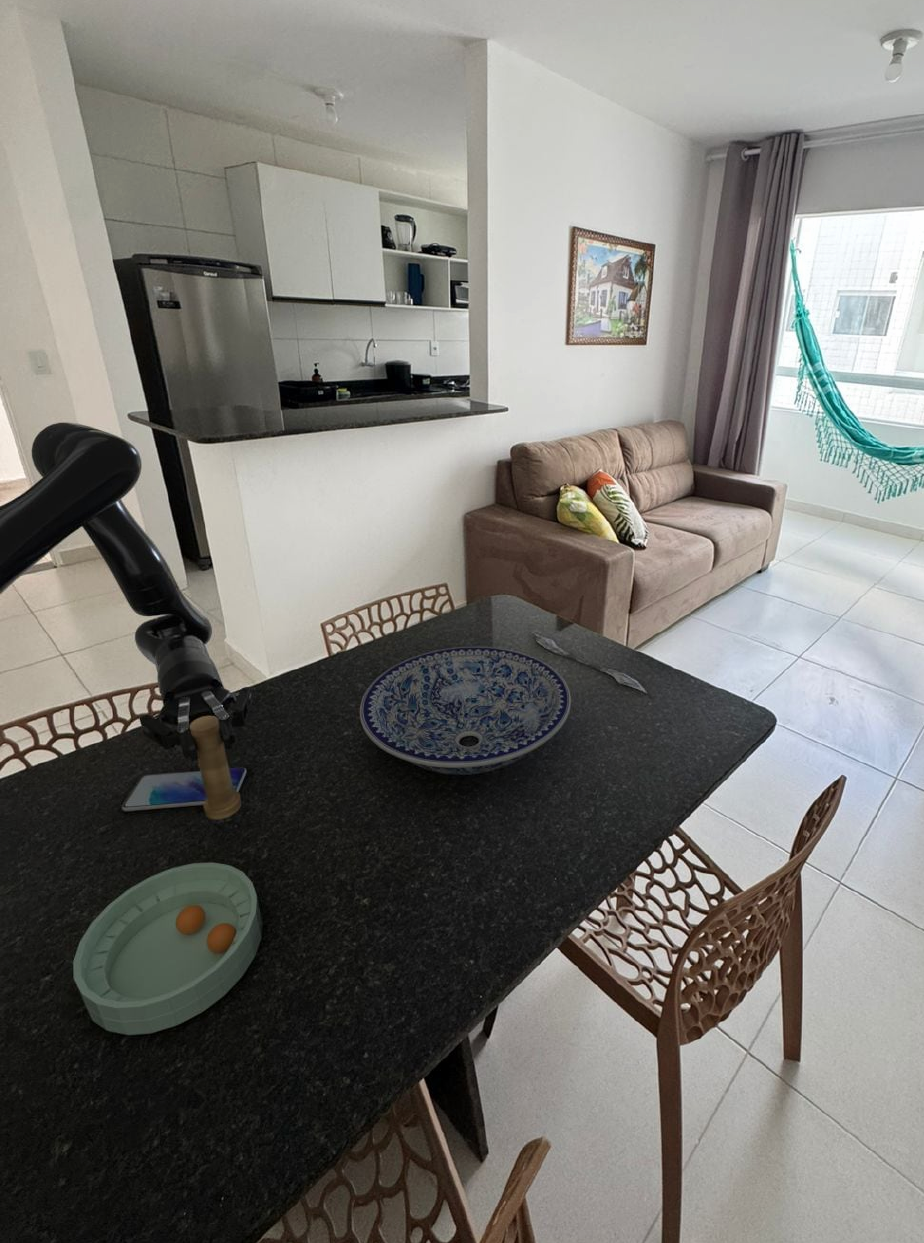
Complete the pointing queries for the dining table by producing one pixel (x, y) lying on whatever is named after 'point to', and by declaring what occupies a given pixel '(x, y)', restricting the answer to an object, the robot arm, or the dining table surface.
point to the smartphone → (173, 790)
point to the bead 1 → (190, 919)
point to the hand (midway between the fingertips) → (211, 748)
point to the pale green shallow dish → (166, 949)
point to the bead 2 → (221, 938)
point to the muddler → (214, 769)
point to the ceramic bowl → (465, 708)
